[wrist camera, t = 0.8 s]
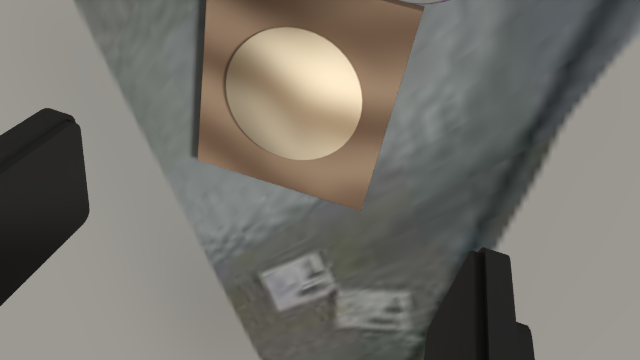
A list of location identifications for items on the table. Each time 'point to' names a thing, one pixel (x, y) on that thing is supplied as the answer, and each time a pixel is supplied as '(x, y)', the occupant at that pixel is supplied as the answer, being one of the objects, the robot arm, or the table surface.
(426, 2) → the beverage can
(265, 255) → the table surface
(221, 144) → the board
